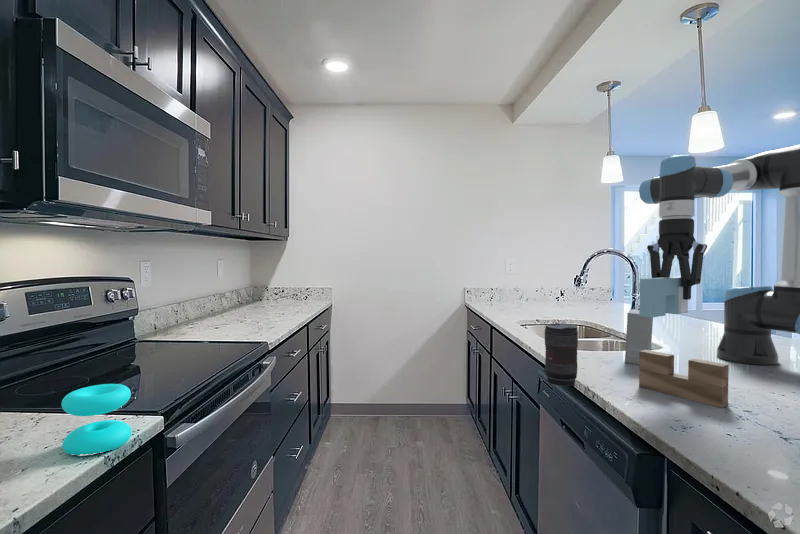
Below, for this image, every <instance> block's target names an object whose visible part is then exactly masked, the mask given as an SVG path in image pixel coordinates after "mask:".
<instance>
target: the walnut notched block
mask: <svg viewBox="0 0 800 534" xmlns="http://www.w3.org/2000/svg"><path fill="white" fill-rule="evenodd" d="M687 364H688V366H687V367H688V368H687V369H688V371H687V372H688V373H687V374H688V375H685V374H678V373H675V354H672V353H667V352H666V353H665V352H662V351H661V352H660V351H655V350H651V351H650V350H643V351H639V364H638V365H639V366H638V367H639V368H638V387H639V388H642V389H648V390H651V391H654V392H655V391H656V392H659V393H662V394H663V393H664V394H667V395H670V396H674V397H679V398H682V399H687V400H690V401H695V402H698V403H702V404H707V405H710V406H714V407H718V408H721V409H722V408H725V407H727V406H729V371H730V369H729V368H730V367H729V366H730V365H729V364H727V363H721V362H716V361H709V360H706V359H705V360H704V359H699V358H692V359H688V363H687Z"/></svg>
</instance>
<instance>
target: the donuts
mask: <svg viewBox="0 0 800 534" xmlns="http://www.w3.org/2000/svg"><path fill="white" fill-rule="evenodd" d="M131 396H132V393H131V389H130V388H129V386H127V385H124V384H121V383H103V384H102V383H101V384H95V385H89V386H86V387H82V388H78V389H76V390H72V391H71V392H69V393H67V394H66V395H65V396H64V397H63V399H62V400H61V409H62V410H63V411H64V412H65V413H66V414H68V415H71V416H76V417H93V416H99V415H104V414H108V413H111V412H114V411H116V410H118V409H120V408H122V407H123V406H124V405H126V404H127V403H128V401H130V399H131ZM132 433H133V429H132V427H131V426H130V424H128V423H126V422H125V421H121V420H117V419H107V420H98V421H93V422H90V423H86V424H83V425H81V426H79V427H76V428H75V429H74V430H72V431H71V432H69V433H68V434H67V435H66V436H65V438H64V439H63V441H62V449H63V451H64V453H66V454H67V453H68V454H67V455H69V454H74V455H80V454H93V453H100V452H106V451H109V452H111V451H110V450H112V451H114V450H116V449H118V448H120V447H123V445H124V446H125V444H126V443H127V442H129V440H130V438H131V436H132ZM106 453H107V452H106Z"/></svg>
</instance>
